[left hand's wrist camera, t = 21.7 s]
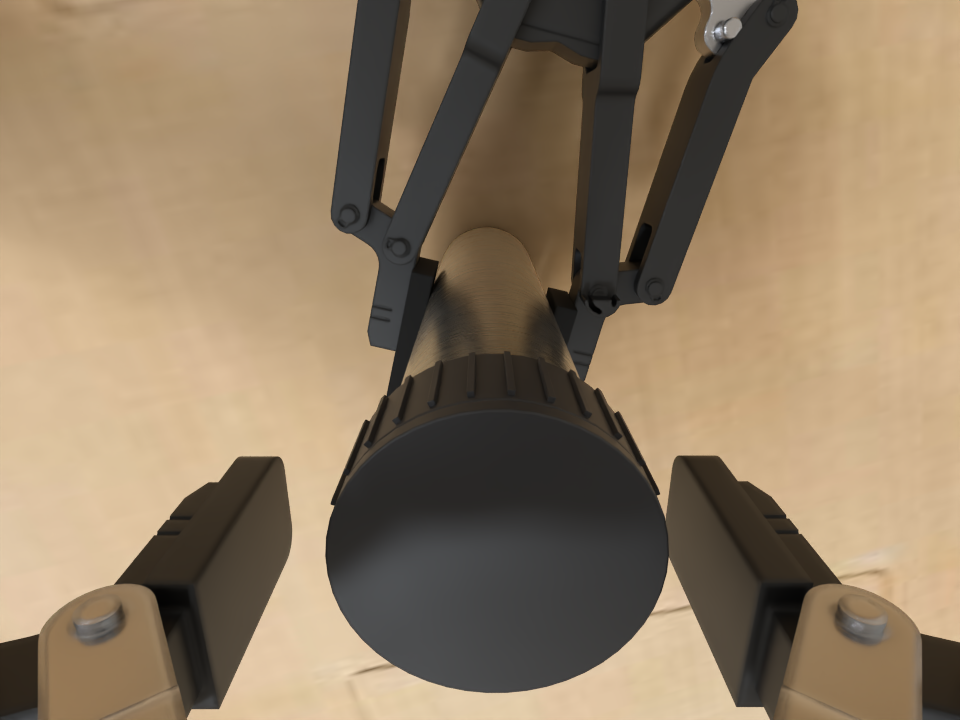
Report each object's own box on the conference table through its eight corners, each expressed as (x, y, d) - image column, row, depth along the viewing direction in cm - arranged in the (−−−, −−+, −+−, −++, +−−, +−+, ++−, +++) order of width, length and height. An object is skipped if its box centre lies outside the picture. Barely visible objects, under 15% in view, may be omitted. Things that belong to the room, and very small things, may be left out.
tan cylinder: (542, 239, 27) (670, 445, 9) (519, 326, 29) (586, 660, 10) (450, 217, 27) (385, 384, 9) (431, 307, 29) (340, 615, 10)
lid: (337, 574, 12) (304, 672, 10) (370, 323, 10) (340, 373, 8) (596, 614, 12) (621, 717, 10) (672, 377, 10) (723, 440, 8)
